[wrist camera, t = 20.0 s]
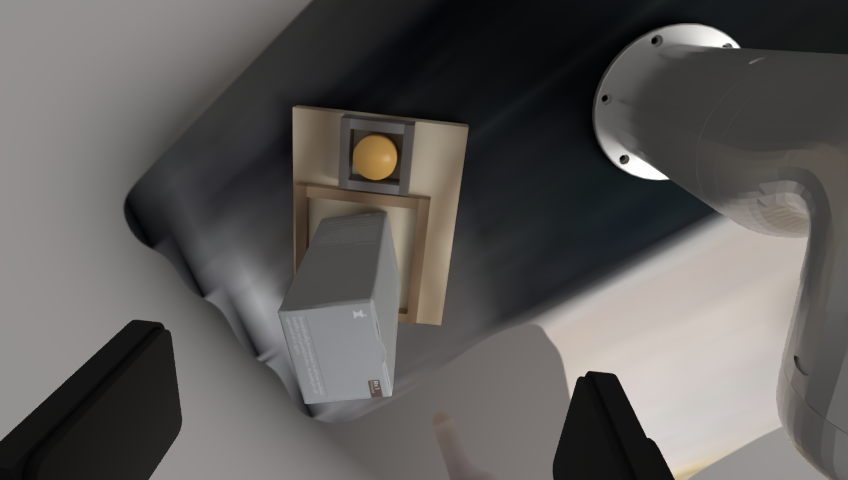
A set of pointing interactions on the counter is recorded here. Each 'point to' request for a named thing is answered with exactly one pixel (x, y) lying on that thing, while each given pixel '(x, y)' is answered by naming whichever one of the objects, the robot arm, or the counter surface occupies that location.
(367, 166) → the button
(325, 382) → the skincare box
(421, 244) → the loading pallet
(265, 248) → the counter surface
